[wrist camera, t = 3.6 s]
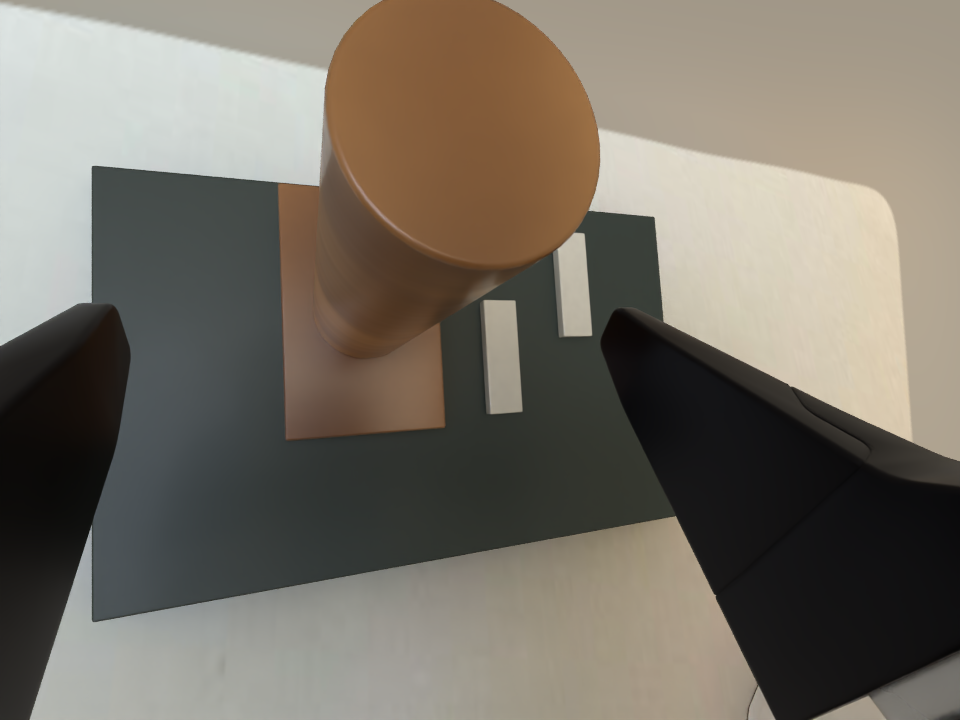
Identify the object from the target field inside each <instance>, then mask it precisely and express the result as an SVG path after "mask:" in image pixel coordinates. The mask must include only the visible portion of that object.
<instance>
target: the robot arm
mask: <svg viewBox="0 0 960 720" xmlns="http://www.w3.org/2000/svg"><path fill="white" fill-rule="evenodd" d="M600 347H601V351H602V354H603V356H604V359H605V362H606V364H607V367H608V370H609V373H610V375H611V378H612V381H613V383H614V386H615V389H616V392H617V394H618V397H619V399H620V402H621V404H622V407H623V409H624V411H625V413H626V415H627V417H628V419H629V421H630V424H631V426H632V428H633V430H634V432H635V434H636V436H637V438H638V440H639V442H640V444H641V446H642V448H643V450H644V452H645V454H646V456H647V458H648V460H649V462H650V464H651V466H652V468H653V470H654V473H655V475H656V477H657V479H658V481H659V483H660V485H661V487H662V489H663V491H664V493H665V495H666V497H667V499H668V501H669V503H670V505H671V507H672V509H673V511H674V513H675V515H676V517H677V519H678V522H679V524H680V526H681V528H682V530H683V532H684V534H685V536H686V538H687V540H688V542H689V544H690V546H691V548H692V550H693V552H694V554H695V556H696V558H697V560H698V562H699V564H700V566H701V568H702V570H703V573H704V575H705V577H706V579H707V581H708V583H709V585H710V587H711V589H712V591H713V593H714V595H716V600H717V602H718V604H719V606H720V608H721V610H722V612H723V614H724V616H725V618H726V620H727V622H728V624H729V626H730V628H731V631H732V633H733V635H734V637H735V639H736V641H737V643H738V645H739V647H740V649H741V651H742V653H743V655H744V657H745V659H746V661H747V663H748V665H749V667H750V669H751V671H752V673H753V675H754V678H755V680H756V682H757V684H758V686H759V688H760V690H761V692H762V694H763V696H764V698H765V700H766V702H767V704H768V706H769V708H770V710H771V712H772V714H773V716H774V718H775V720H813V719H816V718H818V717H820V716H823V715H825V714H827V713H830V712H832V711H834V710H837V709H839V708H841V707H844V706H846V705H848V704H851V703H853V702H855V701H858V700H860V699H862V698H865V697H867V696H869V697H870V698H871V700H872V701H873V702H874V704H875V705H876V706H877V708H878V709H879V710H880V712H881V713H882V714H883V716H884V717H885V718H886V720H960V461H957V460H953V459H950V458H947V457H944V456H942V455H939V454H937V453H934V452H932V451H930V450H927V449H925V448H923V447H921V446H918V445H916V444H914V443H912V442H910V441H907V440H905V439H903V438H901V437H899V436H896V435H894V434H892V433H890V432H887V431H885V430H883V429H881V428H879V427H876V426H874V425H872V424H870V423H867V422H865V421H863V420H861V419H859V418H857V417H855V416H852V415H850V414H848V413H846V412H844V411H842V410H839V409H837V408H835V407H833V406H831V405H829V404H827V403H825V402H823V401H821V400H819V399H817V398H815V397H813V396H810V395H808V394H806V393H804V392H802V391H800V390H798V389H796V388H794V387H790V386H789V385H788V384H786V383H784V382H782V381H780V380H778V379H776V378H774V377H772V376H770V375H768V374H766V373H764V372H762V371H760V370H758V369H756V368H754V367H752V366H750V365H748V364H746V363H744V362H742V361H740V360H738V359H736V358H734V357H732V356H730V355H728V354H726V353H724V352H722V351H720V350H718V349H716V348H714V347H712V346H710V345H708V344H706V343H704V342H702V341H700V340H698V339H696V338H694V337H692V336H690V335H688V334H686V333H684V332H682V331H680V330H678V329H676V328H674V327H672V326H670V325H668V324H666V323H664V322H662V321H660V320H658V319H656V318H654V317H652V316H650V315H648V314H646V313H644V312H642V311H640V310H638V309H636V308H632V307H619V308H617V309H615V310H614V311H613V312H612V314H611V316H610V318H609V321H608V323H607V325H606V327H605V329H604V332H603V334H602V336H601V339H600ZM130 362H131V351H130V346H129V343H128V340H127V337H126V334H125V330H124V327H123V324H122V321H121V318H120V315H119V312H118V310H117V309H116V307H115V306H114V305H112V304H109V303H80V304H77V305H75V306H73V307H71V308H70V309H68V310H66V311H64V312H62V313H60V314H59V315H57V316H55V317H53V318H51V319H49V320H48V321H46V322H44V323H42V324H40V325H38V326H37V327H35V328H33V329H31V330H29V331H27V332H26V333H24V334H22V335H20V336H18V337H16V338H15V339H13V340H11V341H9V342H7V343H5V344H4V345H2V346H0V720H29V719H30V716H31V713H32V710H33V707H34V704H35V701H36V697H37V694H38V691H39V688H40V685H41V682H42V679H43V675H44V672H45V669H46V666H47V663H48V660H49V657H50V654H51V650H52V647H53V644H54V641H55V638H56V635H57V632H58V628H59V625H60V622H61V619H62V616H63V613H64V610H65V607H66V603H67V600H68V597H69V594H70V591H71V588H72V585H73V581H74V578H75V575H76V572H77V569H78V566H79V563H80V560H81V556H82V553H83V550H84V547H85V544H86V541H87V538H88V534H89V531H90V528H91V525H92V522H93V519H94V516H95V512H96V509H97V506H98V503H99V500H100V497H101V494H102V491H103V487H104V484H105V481H106V478H107V475H108V472H109V469H110V465H111V462H112V459H113V456H114V452H115V449H116V445H117V440H118V435H119V430H120V424H121V418H122V411H123V405H124V399H125V393H126V387H127V380H128V374H129V368H130Z"/></svg>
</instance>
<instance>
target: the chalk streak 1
mask: <svg viewBox="0 0 960 720" xmlns="http://www.w3.org/2000/svg"><path fill="white" fill-rule="evenodd" d="M480 315H481V331H482V348H483V365H484V382H485V399H486V413H487V414H504V413H517V412H522V411H523V410H522V394H521V379H520V363H519V348H518V332H517V317H516V302H515V301H514V300H483V301H482V302H480Z"/></svg>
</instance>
